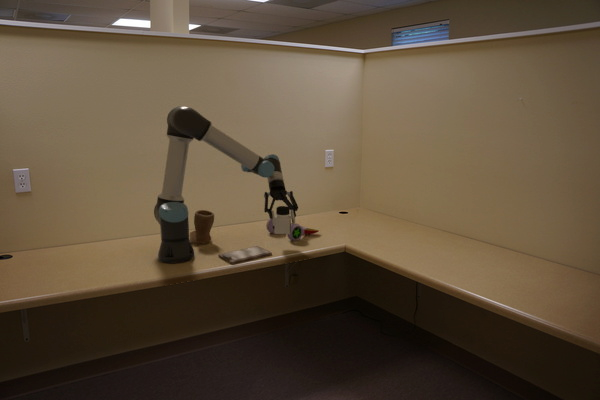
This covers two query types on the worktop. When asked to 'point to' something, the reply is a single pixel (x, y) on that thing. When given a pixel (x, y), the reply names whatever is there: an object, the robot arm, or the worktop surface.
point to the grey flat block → (244, 254)
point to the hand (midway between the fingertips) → (284, 223)
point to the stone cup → (202, 226)
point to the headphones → (292, 230)
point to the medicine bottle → (282, 220)
